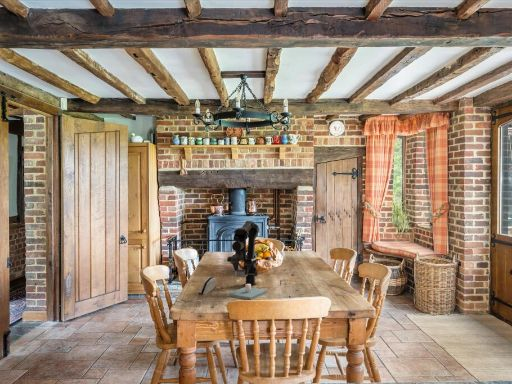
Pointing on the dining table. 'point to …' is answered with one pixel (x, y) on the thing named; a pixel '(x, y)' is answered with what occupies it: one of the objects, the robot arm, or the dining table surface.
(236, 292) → the piston plate
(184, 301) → the dining table surface
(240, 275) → the ring
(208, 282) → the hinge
